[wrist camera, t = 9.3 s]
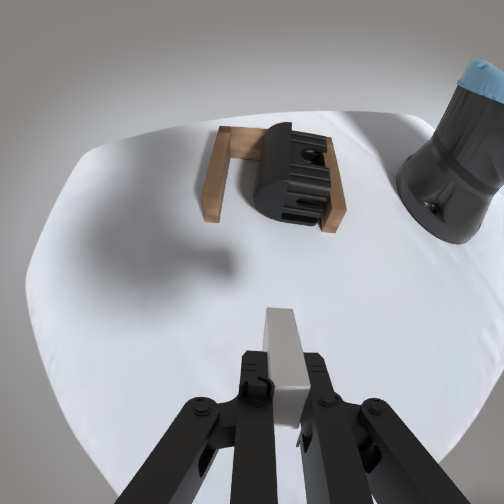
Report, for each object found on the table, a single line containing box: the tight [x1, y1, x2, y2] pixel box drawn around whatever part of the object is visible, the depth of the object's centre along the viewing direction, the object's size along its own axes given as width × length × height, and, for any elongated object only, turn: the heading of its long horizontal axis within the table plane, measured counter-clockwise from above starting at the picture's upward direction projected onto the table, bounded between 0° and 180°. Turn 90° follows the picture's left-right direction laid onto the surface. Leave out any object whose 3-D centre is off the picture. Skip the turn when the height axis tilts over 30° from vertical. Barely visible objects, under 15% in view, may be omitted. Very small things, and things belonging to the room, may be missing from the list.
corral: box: [202, 126, 347, 233], centre depth 30 cm, size 14×12×4 cm
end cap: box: [253, 122, 331, 226], centre depth 29 cm, size 10×7×7 cm
